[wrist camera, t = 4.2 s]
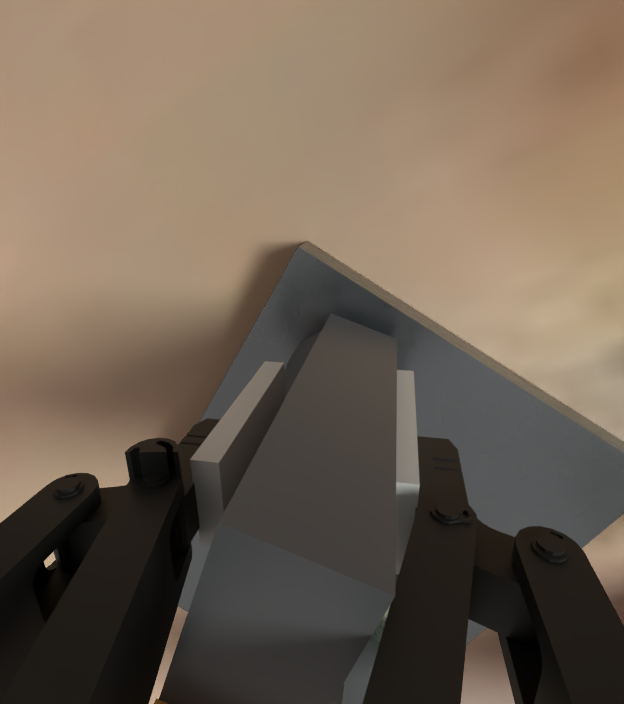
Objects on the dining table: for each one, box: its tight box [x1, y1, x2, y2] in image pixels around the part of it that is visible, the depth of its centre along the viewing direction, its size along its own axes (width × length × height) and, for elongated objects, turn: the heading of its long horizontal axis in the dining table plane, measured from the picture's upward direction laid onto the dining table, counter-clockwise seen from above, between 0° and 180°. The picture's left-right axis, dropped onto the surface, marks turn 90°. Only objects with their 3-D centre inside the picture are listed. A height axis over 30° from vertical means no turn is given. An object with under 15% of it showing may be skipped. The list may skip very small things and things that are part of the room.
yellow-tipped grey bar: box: [154, 313, 397, 704], centre depth 13 cm, size 6×5×14 cm
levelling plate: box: [178, 241, 624, 647], centre depth 23 cm, size 22×18×4 cm
